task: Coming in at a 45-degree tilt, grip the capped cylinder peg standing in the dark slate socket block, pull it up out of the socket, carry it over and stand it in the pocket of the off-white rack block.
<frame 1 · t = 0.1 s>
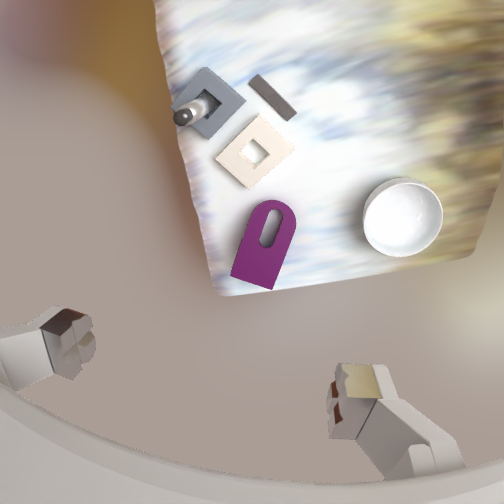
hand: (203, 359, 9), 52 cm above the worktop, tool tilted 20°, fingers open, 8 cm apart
cereal bowl: (396, 205, 59), on the worktop
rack: (255, 150, 57), on the worktop
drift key: (273, 96, 51), on the worktop
socket: (209, 102, 52), on the worktop
capped cylinder peg: (196, 108, 46), in the socket
mounting bracket: (267, 232, 68), on the worktop
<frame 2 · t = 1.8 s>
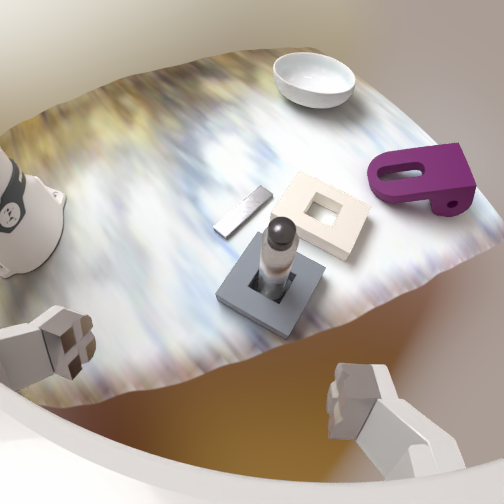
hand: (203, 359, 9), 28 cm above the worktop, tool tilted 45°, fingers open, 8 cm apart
cereal bowl: (310, 97, 58), on the worktop
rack: (320, 218, 44), on the worktop
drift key: (244, 214, 45), on the worktop
socket: (271, 287, 40), on the worktop
capped cylinder peg: (275, 264, 33), in the socket
mounting bracket: (411, 191, 48), on the worktop
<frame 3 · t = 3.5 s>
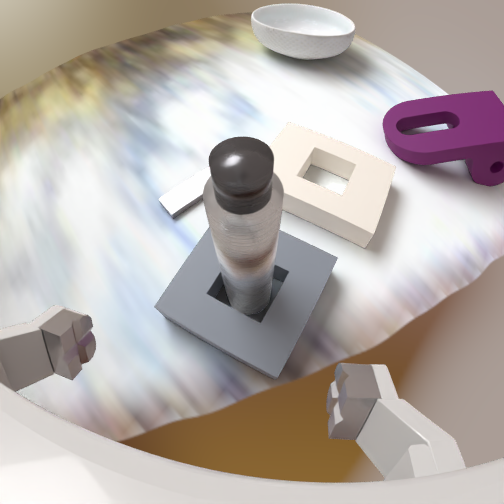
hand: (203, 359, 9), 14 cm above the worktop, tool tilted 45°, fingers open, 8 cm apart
cereal bowl: (300, 51, 44), on the worktop
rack: (323, 186, 29), on the worktop
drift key: (209, 185, 30), on the worktop
socket: (249, 294, 24), on the worktop
capped cylinder peg: (246, 251, 18), in the socket
mounting bracket: (440, 153, 33), on the worktop
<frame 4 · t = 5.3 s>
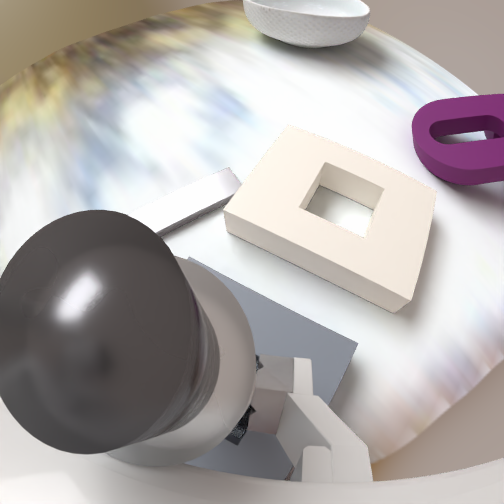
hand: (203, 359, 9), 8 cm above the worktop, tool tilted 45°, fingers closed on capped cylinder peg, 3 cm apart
cereal bowl: (303, 39, 35), on the worktop
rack: (336, 218, 21), on the worktop
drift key: (176, 217, 21), on the worktop
socket: (225, 387, 16), on the worktop
capped cylinder peg: (202, 380, 9), in the socket, touching gripper
mounting bracket: (479, 168, 24), on the worktop
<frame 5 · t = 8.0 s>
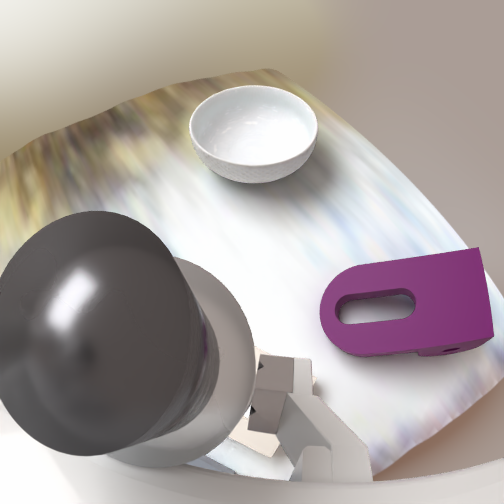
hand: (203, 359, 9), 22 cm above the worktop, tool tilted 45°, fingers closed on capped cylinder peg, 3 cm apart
cereal bowl: (253, 156, 43), on the worktop
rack: (239, 390, 29), on the worktop
socket: (169, 481, 24), on the worktop
capped cylinder peg: (202, 380, 9), point 22 cm above the worktop, touching gripper
mounting bracket: (392, 318, 32), on the worktop
when the fingers open (9 cm above the worktop, at t = 10.7 s): capped cylinder peg drops 1 cm, resting in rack.
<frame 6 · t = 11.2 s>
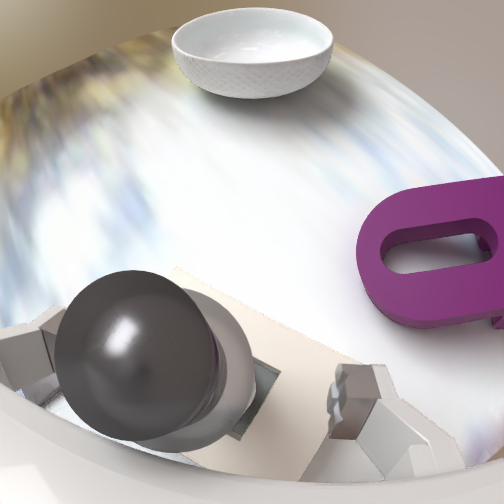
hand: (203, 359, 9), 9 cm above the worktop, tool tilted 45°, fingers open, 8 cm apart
cereal bowl: (253, 81, 31), on the worktop
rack: (228, 388, 17), on the worktop
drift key: (73, 363, 18), on the worktop
capped cylinder peg: (208, 382, 10), in the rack
mounting bracket: (453, 276, 20), on the worktop
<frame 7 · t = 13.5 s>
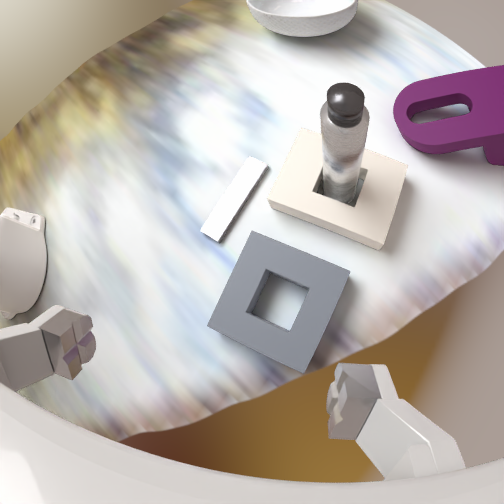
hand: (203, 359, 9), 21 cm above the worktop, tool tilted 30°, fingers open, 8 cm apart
cereal bowl: (306, 23, 38), on the worktop
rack: (339, 190, 31), on the worktop
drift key: (237, 200, 34), on the worktop
socket: (281, 302, 30), on the worktop
capped cylinder peg: (342, 154, 24), in the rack
mounting bracket: (457, 132, 30), on the worktop
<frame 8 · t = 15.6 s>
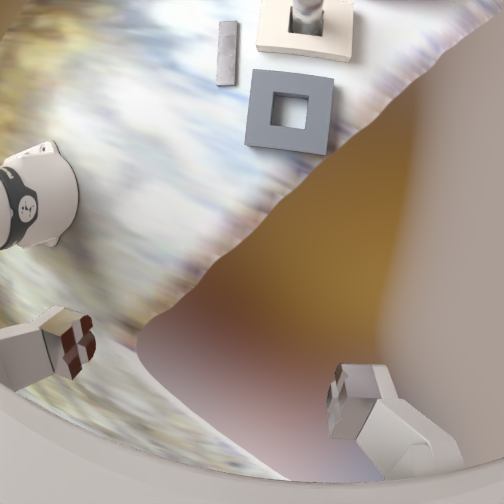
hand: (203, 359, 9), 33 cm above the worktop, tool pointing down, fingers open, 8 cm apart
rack: (305, 28, 32), on the worktop
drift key: (228, 54, 35), on the worktop
socket: (289, 112, 36), on the worktop
capped cylinder peg: (307, 4, 25), in the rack
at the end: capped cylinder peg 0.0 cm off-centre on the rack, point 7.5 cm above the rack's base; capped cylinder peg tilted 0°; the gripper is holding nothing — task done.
